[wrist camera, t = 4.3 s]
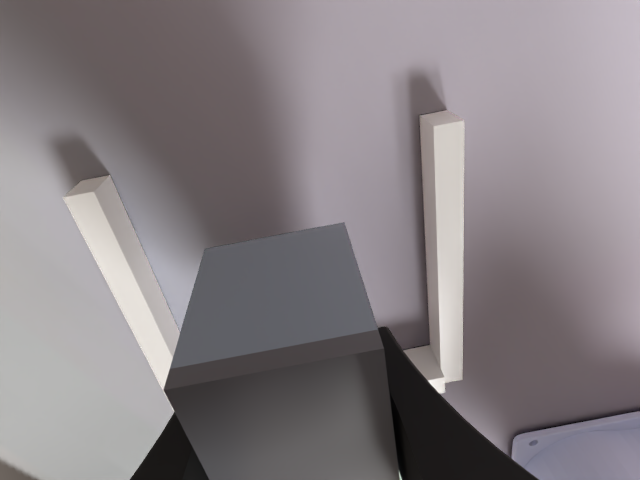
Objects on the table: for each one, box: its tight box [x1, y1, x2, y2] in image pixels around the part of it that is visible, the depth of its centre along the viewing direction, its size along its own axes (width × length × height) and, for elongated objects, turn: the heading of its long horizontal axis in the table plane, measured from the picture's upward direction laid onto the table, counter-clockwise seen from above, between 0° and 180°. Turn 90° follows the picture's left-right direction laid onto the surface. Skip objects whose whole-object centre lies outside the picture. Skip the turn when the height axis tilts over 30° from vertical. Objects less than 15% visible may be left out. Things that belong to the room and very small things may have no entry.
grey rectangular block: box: [164, 222, 400, 480], centre depth 11 cm, size 4×7×5 cm, turn 9°
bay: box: [63, 110, 464, 411], centre depth 17 cm, size 13×12×2 cm
